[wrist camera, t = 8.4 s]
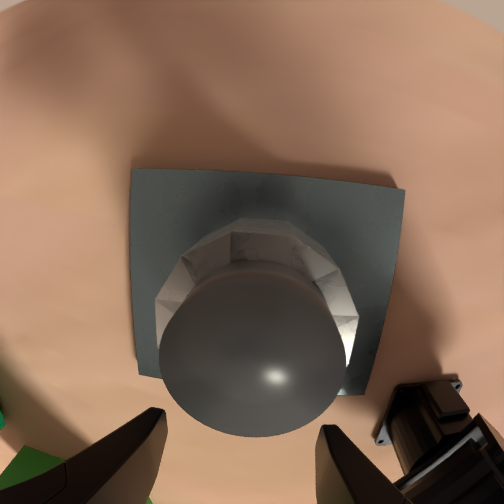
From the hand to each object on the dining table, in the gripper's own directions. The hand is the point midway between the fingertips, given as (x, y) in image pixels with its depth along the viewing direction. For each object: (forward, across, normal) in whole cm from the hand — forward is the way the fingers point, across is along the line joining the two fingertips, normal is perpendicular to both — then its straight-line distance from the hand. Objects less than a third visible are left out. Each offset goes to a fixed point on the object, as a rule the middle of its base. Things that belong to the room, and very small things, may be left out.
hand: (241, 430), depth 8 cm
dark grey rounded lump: (+8, 0, 0) cm, 9 cm away
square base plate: (+12, 0, 0) cm, 12 cm away
